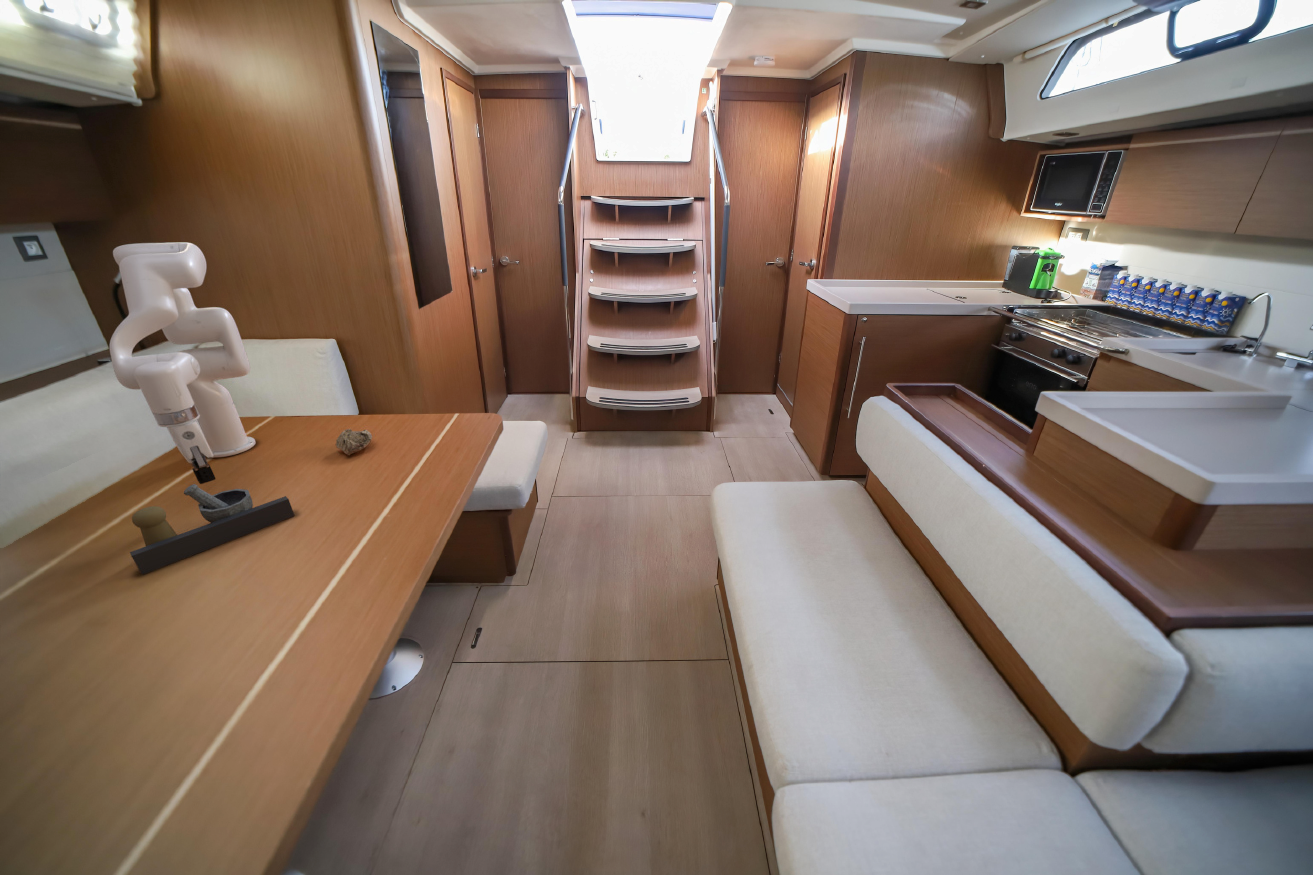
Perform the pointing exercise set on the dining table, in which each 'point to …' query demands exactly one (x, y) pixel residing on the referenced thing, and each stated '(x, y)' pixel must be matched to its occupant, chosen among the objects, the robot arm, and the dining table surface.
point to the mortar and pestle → (220, 502)
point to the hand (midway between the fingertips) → (207, 480)
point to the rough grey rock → (353, 440)
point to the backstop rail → (211, 535)
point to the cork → (153, 524)
